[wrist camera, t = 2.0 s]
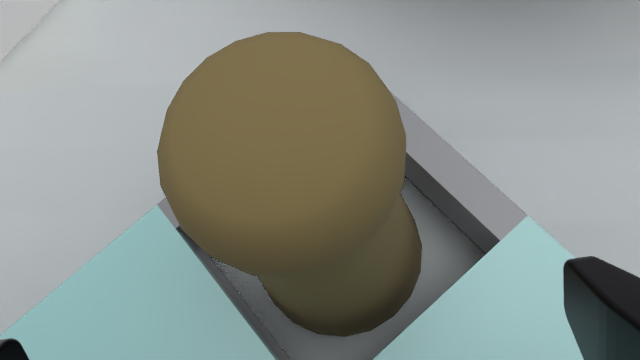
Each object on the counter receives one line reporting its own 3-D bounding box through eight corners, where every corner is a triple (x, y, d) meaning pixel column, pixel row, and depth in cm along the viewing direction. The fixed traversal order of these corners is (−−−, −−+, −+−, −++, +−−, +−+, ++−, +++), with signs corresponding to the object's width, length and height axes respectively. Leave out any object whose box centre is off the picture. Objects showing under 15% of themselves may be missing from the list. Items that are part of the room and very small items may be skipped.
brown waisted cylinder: (412, 167, 21) (411, -39, 11) (431, 331, 19) (451, 267, 9) (259, 183, 22) (122, 5, 11) (260, 341, 19) (91, 294, 9)
